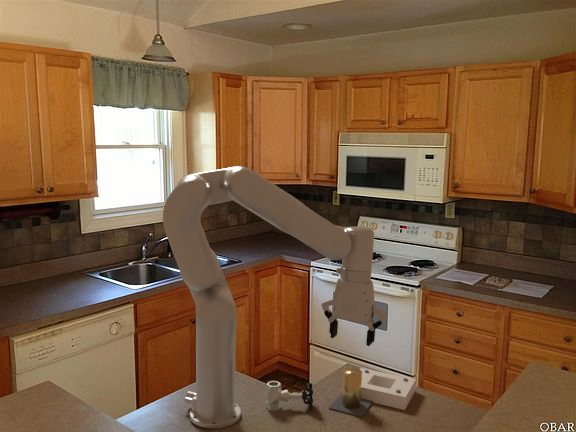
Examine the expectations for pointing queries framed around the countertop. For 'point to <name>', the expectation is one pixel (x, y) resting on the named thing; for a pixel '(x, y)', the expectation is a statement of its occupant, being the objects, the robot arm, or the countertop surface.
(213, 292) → the robot arm
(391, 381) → the plate
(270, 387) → the valve
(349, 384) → the brass domed cylinder
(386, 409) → the countertop surface
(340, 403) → the mat
